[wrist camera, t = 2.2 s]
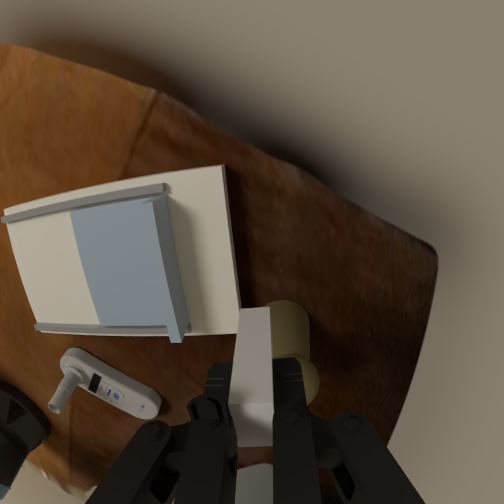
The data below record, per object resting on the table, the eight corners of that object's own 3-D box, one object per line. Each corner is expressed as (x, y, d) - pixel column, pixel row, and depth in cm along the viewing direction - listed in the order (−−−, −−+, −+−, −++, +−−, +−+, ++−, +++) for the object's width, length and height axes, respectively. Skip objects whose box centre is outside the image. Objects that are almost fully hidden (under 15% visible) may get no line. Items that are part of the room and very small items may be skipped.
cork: (280, 355, 34) (286, 429, 23) (241, 325, 32) (234, 398, 22) (320, 323, 32) (342, 394, 22) (282, 289, 31) (292, 357, 20)
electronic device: (139, 463, 29) (34, 406, 26) (154, 411, 39) (64, 361, 36) (152, 449, 28) (36, 385, 25) (167, 392, 37) (70, 338, 34)
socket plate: (50, 322, 33) (38, 335, 30) (16, 204, 28) (-1, 211, 25) (243, 319, 32) (241, 337, 29) (224, 164, 27) (220, 166, 24)
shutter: (103, 322, 30) (88, 341, 26) (73, 209, 26) (52, 219, 22) (189, 320, 29) (181, 342, 26) (166, 194, 25) (152, 202, 22)
